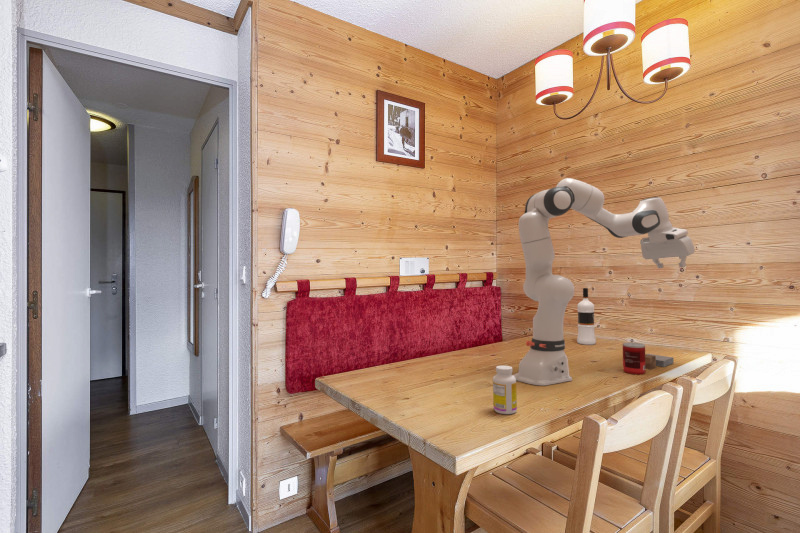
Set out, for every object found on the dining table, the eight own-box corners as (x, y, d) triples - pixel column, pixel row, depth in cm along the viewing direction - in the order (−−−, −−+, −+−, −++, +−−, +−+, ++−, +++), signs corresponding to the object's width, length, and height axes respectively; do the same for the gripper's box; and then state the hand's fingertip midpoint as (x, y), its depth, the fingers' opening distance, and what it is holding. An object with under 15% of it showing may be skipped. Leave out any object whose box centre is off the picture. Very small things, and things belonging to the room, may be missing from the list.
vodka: (574, 341, 219) (573, 287, 219) (591, 341, 218) (591, 287, 219) (580, 345, 210) (579, 288, 210) (598, 345, 209) (597, 288, 209)
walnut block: (650, 370, 159) (650, 357, 159) (637, 367, 163) (637, 355, 163) (655, 368, 162) (655, 355, 162) (642, 365, 166) (642, 353, 166)
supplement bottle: (512, 406, 120) (512, 364, 120) (520, 414, 113) (519, 369, 113) (490, 407, 120) (490, 364, 120) (496, 415, 113) (496, 370, 113)
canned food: (639, 369, 160) (638, 342, 160) (649, 375, 152) (649, 346, 152) (619, 369, 161) (618, 342, 161) (628, 374, 153) (628, 346, 153)
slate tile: (663, 367, 163) (663, 361, 163) (637, 362, 171) (637, 356, 171) (673, 363, 169) (673, 357, 169) (647, 359, 177) (647, 353, 177)
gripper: (633, 240, 170) (643, 271, 171) (680, 234, 151) (691, 268, 151) (644, 236, 172) (654, 266, 173) (691, 229, 152) (702, 263, 153)
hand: (671, 267), depth 162 cm, fingers open, 8 cm apart
